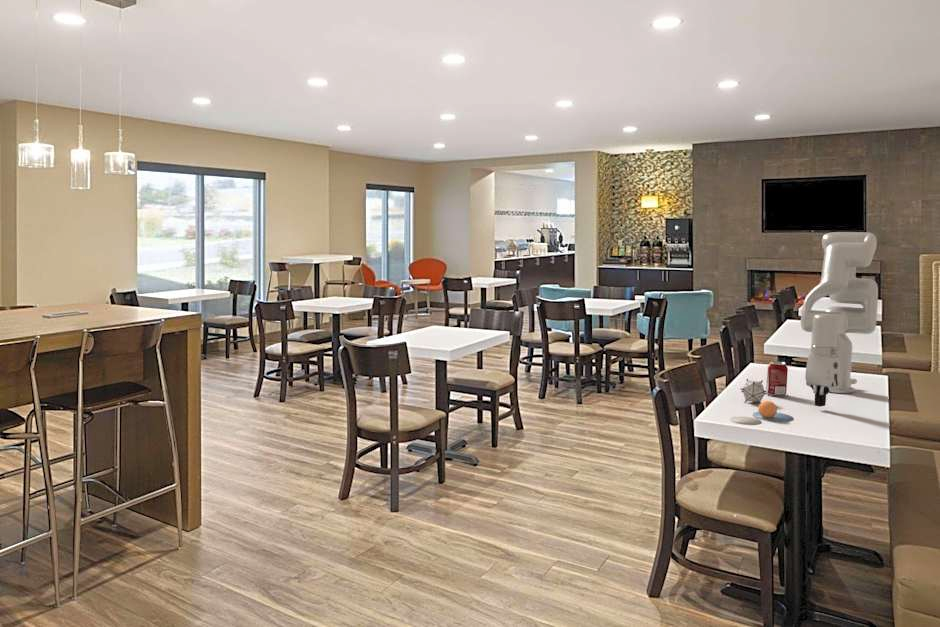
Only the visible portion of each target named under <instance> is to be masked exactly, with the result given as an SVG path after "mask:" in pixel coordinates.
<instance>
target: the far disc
mask: <svg viewBox="0 0 940 627" xmlns="http://www.w3.org/2000/svg"><path fill="white" fill-rule="evenodd" d="M731 420H732V421H731ZM730 421H731V422H733V421H734V422H733V423H736V422H737V424H740V423H742V424H741V425H748V424H749V425H755V426H756V425H759V424H761V423H762V421H761V419H758V418H756V417H750V416H732V417H730Z"/></svg>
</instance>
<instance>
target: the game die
mask: <svg viewBox="0 0 940 627" xmlns="http://www.w3.org/2000/svg"><path fill="white" fill-rule="evenodd" d="M763 382H764V380H761V381H757V380H749V379H748V378H746V382H745V385H744V386H743V388H740V390H741V393H743V395H744V399H745V400H744V403H747V402H753V403H754V402H755V403H759V405H760V404H761V403H762V400H763V398H764V396H765V395H768V394H767V393H766V392H767V391H766V390H765V388H764V386H763Z"/></svg>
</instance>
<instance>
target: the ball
mask: <svg viewBox="0 0 940 627" xmlns="http://www.w3.org/2000/svg"><path fill="white" fill-rule="evenodd" d="M757 410H758V411H757V412H759V414H760V415H761V416H762V417H764V418H772V417H774V416H775V415H776V413H778V408H777V406H776V404H775V403H774V402H772V401H771V400H764V401H761V404H760V403H759V405H758V408H757Z"/></svg>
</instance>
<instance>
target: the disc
mask: <svg viewBox="0 0 940 627" xmlns="http://www.w3.org/2000/svg"><path fill="white" fill-rule="evenodd" d="M752 416H753V418H755V419H758V420H763V421H767V420H768V421H770V422H776V421H779V422H780V423H781V422H783V421H785V422H783V423H786V421H787V422H791V420H792V421H793V420H794V417H793V416H792V415H790V414H786V413H782V412H777V413H776V415H775V416H774V417H772V418H764V417H762V416H761V415H760V414H759V411H756V412H754V413H752ZM768 421H767V422H768ZM779 422H778V423H779Z"/></svg>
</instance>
